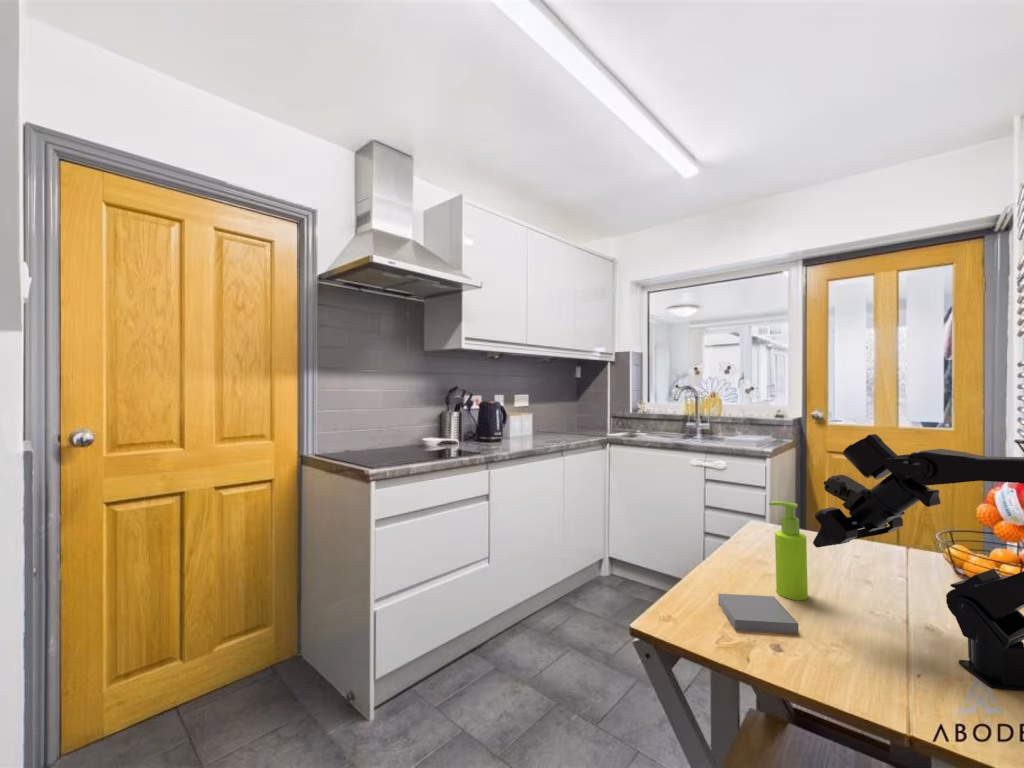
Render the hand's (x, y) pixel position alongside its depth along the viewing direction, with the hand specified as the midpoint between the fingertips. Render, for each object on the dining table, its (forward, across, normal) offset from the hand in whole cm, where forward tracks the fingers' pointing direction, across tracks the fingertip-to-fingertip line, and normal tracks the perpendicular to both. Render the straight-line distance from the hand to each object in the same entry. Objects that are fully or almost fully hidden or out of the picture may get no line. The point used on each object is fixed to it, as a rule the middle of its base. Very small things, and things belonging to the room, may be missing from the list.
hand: (829, 541), depth 94 cm
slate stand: (+12, +17, +7) cm, 22 cm away
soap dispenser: (+15, +2, +4) cm, 16 cm away
